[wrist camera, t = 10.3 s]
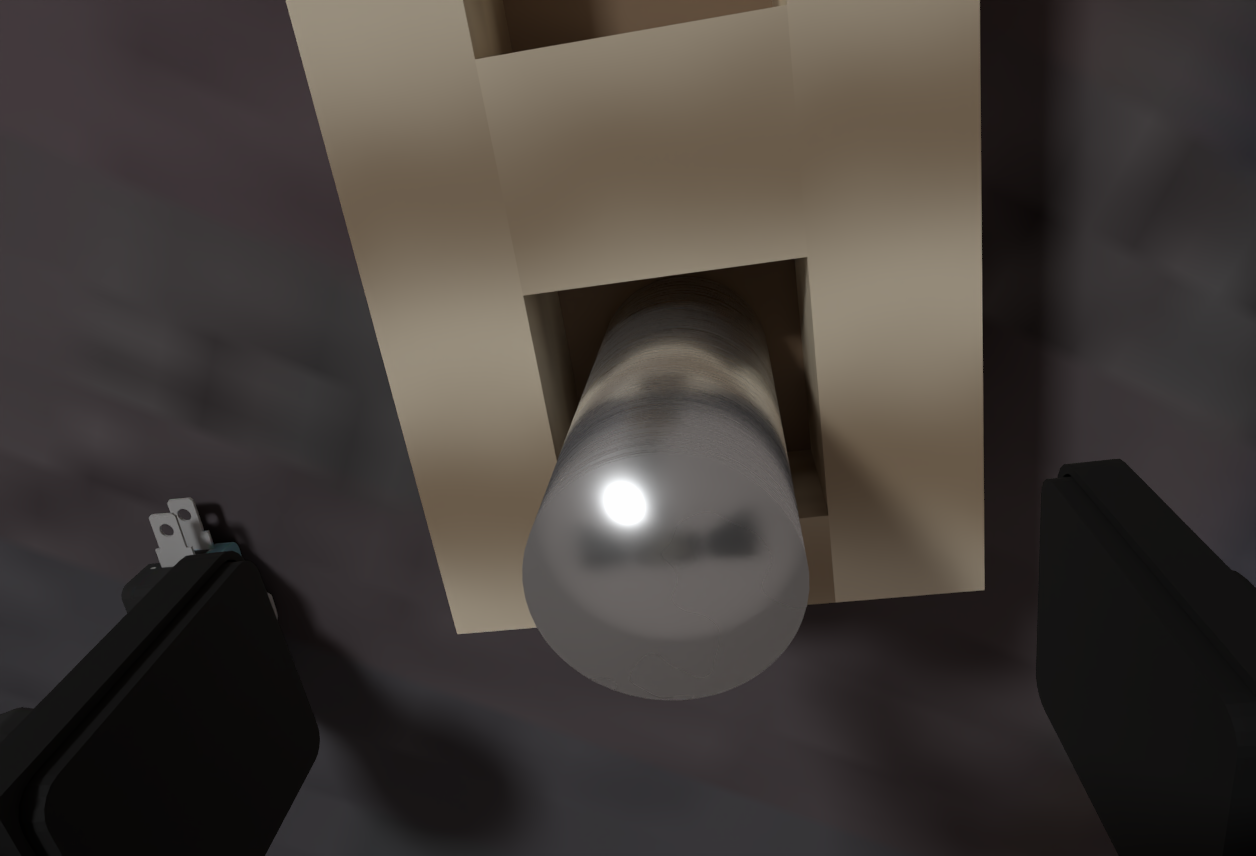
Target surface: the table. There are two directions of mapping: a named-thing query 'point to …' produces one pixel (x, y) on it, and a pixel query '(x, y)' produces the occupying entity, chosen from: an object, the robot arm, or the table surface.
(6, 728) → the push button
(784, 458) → the pin
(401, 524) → the table surface
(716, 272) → the socket block
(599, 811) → the table surface
